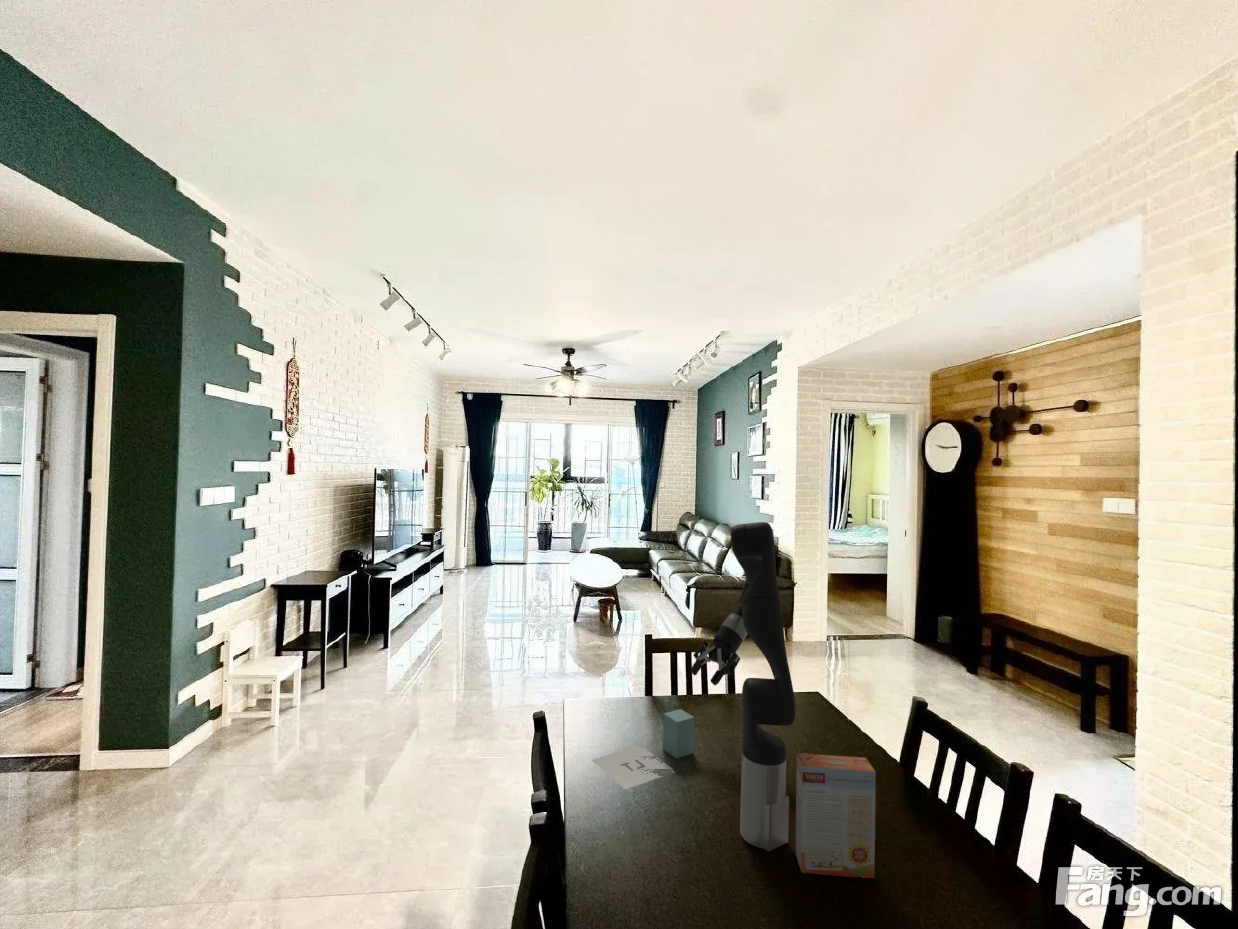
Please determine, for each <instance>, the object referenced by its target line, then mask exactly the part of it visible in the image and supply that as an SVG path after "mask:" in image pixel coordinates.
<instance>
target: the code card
mask: <svg viewBox="0 0 1238 929" xmlns="http://www.w3.org/2000/svg"><path fill="white" fill-rule="evenodd" d="M640 745H641V744H638V745H636V746H637V747H636V746H632V747H630V748H629V747H628V748H626V749H622V750H619V751H616V752H612V753H609V754H607V755H603V756H598V757H597V758H594V759H593V758H592V759H591V761H592V762H593V763H594V764H595V765H597V766H598V767H599V768H600V769H601V770H602V771H603V772H604V773H606V775H607V776H608V777H610V778H612V780H613V781H614V782H616V783H617V784H618V785H619V787H621V788H622V789H623V790H629V789H631V788H634V787H636V786H639V785H642V784H645V783H647V782H650V781H653V780H656V779H658V778H662V777H661V776H658V775H659V774H658V775H657V773H656V774H654V773H652V770H654V769H673V768H672V767H671V766H669V765H668V764H667V763H665V762H664V761H663V763H661V762H660V761H662V759H660V758H659V759H660V761H658V760H659V759H658V757H657V758H655V759H651V758H650V759H651V760H650V759H648V758H649V757H647V758H646V759H645V760H643V759H644V758H642V757H639V756H656V755H655V754H653V753H652V752H650V751H649V750H648V749H646V748H645V747H644V746H642V747H640ZM632 756H633V757H632ZM635 756H637V757H635ZM640 758H641V759H640ZM656 759H658V760H656ZM658 762H659V763H658ZM660 763H661V764H660ZM639 769H640V770H639ZM641 769H644V770H647V769H650V770H648V771H646V772H645V771H644V770H641ZM651 769H652V770H651ZM673 770H674V769H673ZM673 770H672V772H673V773H675V772H674V771H673ZM641 771H642V772H643V773H642V772H641ZM649 771H651V773H650V772H649ZM654 771H655V770H654ZM646 773H648V774H646Z"/></svg>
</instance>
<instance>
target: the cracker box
mask: <svg viewBox="0 0 1238 929" xmlns="http://www.w3.org/2000/svg"><path fill="white" fill-rule="evenodd" d="M876 774H877V773H876V770H875V768H874V767H873V765H871V763H870V761H869V760H868V759H867V757H861V756H860V757H858V756H846V755H844V756H843V755H832V754H831V755H829V754H816V753H815V754H814V753H803V752H801V753H800V752H798V753H796V780H795V781H796V782H795V784H796V785H795V788H796V789H795V791H796V792H795V793H796V794H795V856H796V859H797V860H796V861H797V864H798V866H799V869H800V872H801V874H813V875H822V876H835V877H844V878H845V877H846V878H857V877H861V878H860V879H868V878H874V879H875V868H876V867H875V866H876V864H875V863H876V862H875V861H876V859H875V858H876V856H875V855H876V852H875V850H876V848H875V847H876V846H875V845H876V777H877V776H876Z"/></svg>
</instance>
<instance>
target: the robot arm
mask: <svg viewBox="0 0 1238 929" xmlns="http://www.w3.org/2000/svg"><path fill="white" fill-rule="evenodd" d="M773 532H774V531H773V528H772V526H771V524H769V523H768V522H765V521H764V522H763V521H759V522H749V523H739V524H736V525H733V526H732V527H731V530H730V544H731V545H730V546H731V550H732V552H733V555H734V557H735V559H736V561H737V563H738V564H739V565H740V567H741V568H742V571H743V573H744V576H745V580H744V583H743V587H742V589H741V594H740V595H739V598H738V601H737V603H736V605H735V606H734V608H733V610H731V612H730V614H729V615H728V616H727V617H726V618H725V620H724V621H723V622H722V624H721V625H720V627H719V628H718V630H717V632H716V633H715V635H714V636H713V641H712V642H711V643H708V641H707V640H703V641H702V642H701V644H700V645H698V646H699V647H698V648H697V649H696V650H695V651H694V653H693V654H692V655H693V657H694V659H695V662H694V663H693V664H692V666H691V668H690V673H691V674H692V675H693V676H697V675H698V673H699V671H700V670H701V669H702V667H703V665H704V664H707V663H710V662H713V663H716V664H717V665H718V669H717V670H716V671H715V672H714V674H713V675H712V677H711V678H710V683H711V684H712V685H713V686H717V685H719V683H720V681H721V680H722V678H723V677H724V676H725V675H728V676H731V675H733V673H734V671H735V669H736V668H737V666H738V664H739V663H740V661H741V657H740V656H739V654H738V653H737V651H738V650H739V648H740V646H741V645H742V644H743V642H744V641H745V639H746V637H747V635H748V636H749V638H750V639H751V640H752V642H753V643H754V644H755V646H756V648H758V650H760V652H761V654H762V656H764V659H766V661H767V663H768V665H769V667H770V670H771V672H772V676H773V678H763V677H748V678H747V677H746V678H745V680H744V681H743V683H742V691H741V705H742V706H741V708H742V709H741V710H742V743H741V745H742V746H741V747H742V749H741V778H740V780H741V782H740V816H739V817H740V819H739V823H740V824H739V833H740V836H741V837H742V838H743V840H744V841H746V842H747V843H748V844H750V845H751V846H754V847H756V848H760V849H763V850H765V851H767V852H771V851H773V850H775V849H778V848H779V847H781V846H783V845H785V844H787V843H789V826H790V825H789V823H790V822H789V821H790V820H789V817H790V815H789V814H790V797H789V796H788V795H786V783H787V782H786V780H787V779H786V778H787V777H786V776H787V774H786V773H787V746H786V744H785V742H784V741H783V740H782V739H781V738H780V737H779V736H778V735H776V734H773V733H771V732H769V731H767V730H765V729H763V728H762V727H761V726H760V725H763V726H764V725H765V726H767V725H768V726H779V727H782V726H783V727H788V726H789V727H790V726H793V724H794V722H795V719H796V710H797V708H796V699H795V692H794V688H793V687H794V686H793V683H792V677H791V671H790V666H789V661H788V655H787V650H786V648H787V647H786V641H785V629H784V628H785V627H784V620H783V610H782V603H781V597H780V591H779V584H778V576H777V565H776V564H777V563H776V552H775V551H776V548H775V547H776V546H775V538H774V537H775V536H774V533H773Z"/></svg>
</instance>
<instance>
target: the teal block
mask: <svg viewBox="0 0 1238 929" xmlns="http://www.w3.org/2000/svg"><path fill="white" fill-rule="evenodd" d="M662 722H663V723H662V724H663V726H662V727H663V728H662V750H663V751H664V752H665V753H667V754H669V755H670V756H672V757H673V758H675V760H677V759H681V758H683V757H686V756H689V755H692V754H693V753H694V747H695V746H694V745H695V744H694V743H695V742H694V740H695V737H694V736H695V735H694V734H695V717H694V716H693V715H691V714H689V713H688V712H687V711H684V710H683V709H680V708H679V709H676V710H672V711H668V712H664V713H663V721H662Z"/></svg>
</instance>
